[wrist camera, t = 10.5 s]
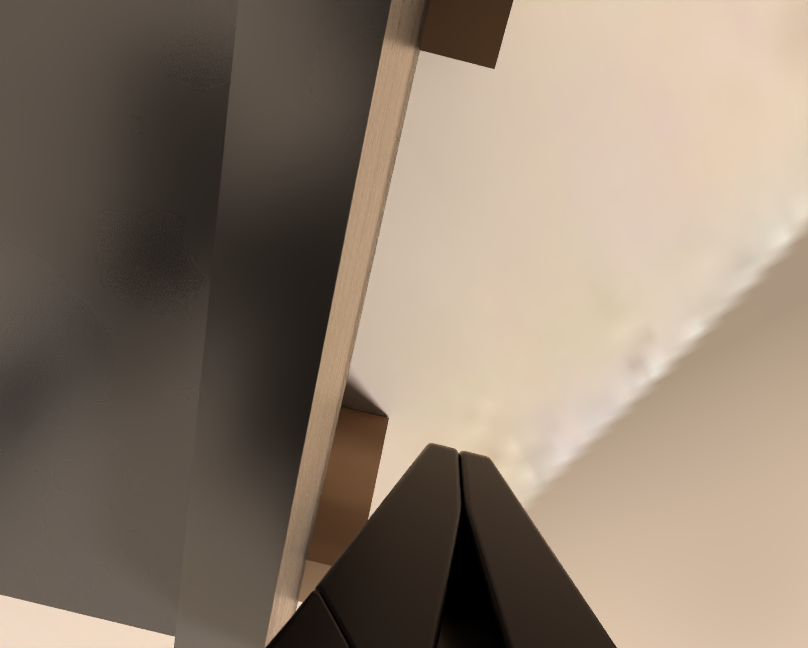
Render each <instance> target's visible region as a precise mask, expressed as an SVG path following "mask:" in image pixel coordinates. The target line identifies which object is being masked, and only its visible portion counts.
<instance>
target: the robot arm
mask: <svg viewBox="0 0 808 648" xmlns="http://www.w3.org/2000/svg"><path fill="white" fill-rule="evenodd" d="M265 648H617V647H616V646H615V644H614V643H613V641H612V640H611V638H610V637H609V635H608V634H607V632H606V631H605V630H604V628H603V626H602V625H601V623H600V622H599V620H598V619H597V617H596V616H595V614H594V613H593V611H592V610H591V609H590V607H589V605H588V604H587V602H586V601H585V599H584V598H583V596H582V595H581V594H580V592H579V590H578V589H577V587H576V586H575V584H574V583H573V581H572V580H571V578H570V577H569V575H568V574H567V572H566V571H565V569H564V568H563V566H562V565H561V564H560V562H559V561H558V559H557V557H556V556H555V554H554V553H553V552H552V550H551V548H550V547H549V546H548V544H547V543H546V541H545V540H544V538H543V537H542V535H541V534H540V532H539V531H538V529H537V528H536V526H535V525H534V523H533V522H532V520H531V519H530V517H529V516H528V514H527V513H526V511H525V510H524V508H523V507H522V505H521V504H520V502H519V501H518V499H517V498H516V496H515V495H514V493H513V492H512V490H511V489H510V487H509V486H508V484H507V483H506V481H505V480H504V478H503V477H502V475H501V474H500V472H499V471H498V469H497V468H496V466H495V465H494V463H493V462H492V460H491V459H490V458H489V457H487V456H483V455H479V454H475V453H471V452H467V451H461V452H460V453H459V454H458V451H457V450H456V449H454V448H450V447H446V446H442V445H438V444H434V443H430V444H428V445H427V446H426V447H425V448H424V449H423V451H422V452H421V453H420V455H419V456H418V457H417V458H416V460H415V461H414V462H413V463H412V465H411V466H410V467H409V469H408V470H407V471H406V472H405V474H404V475H403V476H402V478H401V479H400V480H399V481H398V483H397V484H396V485H395V486H394V488H393V489H392V490H391V492H390V493H389V494H388V495H387V497H386V498H385V499H384V500H383V502H382V503H381V504H380V506H379V507H378V508H377V509H376V511H375V512H374V513H373V514H372V516H371V517H370V518H369V520H368V521H367V522H366V523H365V525H364V526H363V527H362V528H361V530H360V531H359V532H358V534H357V535H356V536H355V537H354V539H353V540H352V541H351V542H350V544H349V545H348V546H347V548H346V549H345V550H344V551H343V553H342V554H341V555H340V557H339V558H338V559H337V560H336V562H335V563H334V564H333V565H332V567H331V568H330V569H329V571H328V572H327V573H326V574H325V576H324V577H323V578H322V579H321V581H320V582H319V583H318V585H317V586H316V588H315V591H312V592H311V593H310V594H309V595H308V597H307V598H306V599H305V600H304V602H303V603H302V604H301V606H300V607H299V608H298V609H297V611H296V612H295V613H294V614H293V615H292V617H291V618H290V619H289V620H288V621H287V623H286V624H285V625H284V626H283V627H282V628H281V630H280V631H279V632H278V633H277V634H276V635H275V637H274V638H273V639H272V640H271V641H270V642H269V644H268V645H267V646H266V647H265Z"/></svg>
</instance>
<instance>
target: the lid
mask: <svg viewBox="0 0 808 648" xmlns="http://www.w3.org/2000/svg"><path fill="white" fill-rule="evenodd" d="M430 1H431V0H0V595H5V596H9V597H13V598H17V599H21V600H25V601H30V602H34V603H38V604H42V605H46V606H50V607H54V608H59V609H63V610H67V611H71V612H75V613H79V614H83V615H88V616H92V617H96V618H100V619H104V620H108V621H113V622H117V623H121V624H125V625H129V626H133V627H137V628H142V629H146V630H150V631H154V632H158V633H162V634H166V635H171V636H175V643H174V648H265V647H266V646H267V645H268V644H269V642H270V641H271V640H272V639H273V638H274V637H275V635H276V634H277V633H278V632H279V631H280V630H281V628H282V627H283V626H284V625H285V624H286V623H287V621H288V620H289V619H290V618H291V617H292V615H293V614H294V613H295V612H296V607H297V603H298V598H299V594H300V589H301V585H302V580H303V576H304V571H305V567H306V562H307V558H308V553H309V549H310V544H311V539H312V535H313V530H314V526H315V521H316V517H317V512H318V508H319V503H320V499H321V494H322V490H323V485H324V481H325V476H326V472H327V467H328V463H329V458H330V453H331V449H332V444H333V440H334V435H335V431H336V426H337V422H338V417H339V413H340V408H341V404H342V399H343V395H344V390H345V386H346V381H347V377H348V372H349V367H350V363H351V358H352V354H353V349H354V345H355V340H356V336H357V331H358V327H359V322H360V318H361V313H362V309H363V304H364V300H365V295H366V291H367V286H368V281H369V277H370V272H371V268H372V263H373V259H374V254H375V250H376V245H377V241H378V236H379V232H380V227H381V223H382V218H383V214H384V209H385V205H386V200H387V195H388V191H389V186H390V182H391V177H392V173H393V168H394V164H395V159H396V155H397V150H398V146H399V141H400V137H401V132H402V128H403V123H404V119H405V114H406V109H407V105H408V100H409V96H410V91H411V87H412V82H413V78H414V73H415V69H416V64H417V60H418V55H419V51H420V46H421V42H422V37H423V33H424V28H425V23H426V19H427V14H428V10H429V5H430Z"/></svg>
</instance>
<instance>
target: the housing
mask: <svg viewBox="0 0 808 648" xmlns="http://www.w3.org/2000/svg"><path fill="white" fill-rule="evenodd" d="M512 3H513V0H431V1H430V5H429V10H428V14H427V19H426V23H425V28H424V33H423V37H422V42H421V46H420V50H422V51H426V52H430V53H434V54H438V55H441V56H445V57H449V58H453V59H457V60H461V61H465V62H469V63H473V64H477V65H481V66H485V67H488V68H492V69H495V65H496V62H497V58H498V54H499V51H500V47H501V43H502V40H503V36H504V32H505V29H506V25H507V21H508V18H509V14H510V10H511V7H512ZM388 420H389V418H386V417H382V416H378V415H374V414H370V413H366V412H362V411H358V410H354V409H350V408H346V407H342V406H341V408H340V413H339V417H338V422H337V426H336V431H335V435H334V440H333V444H332V449H331V453H330V458H329V463H328V467H327V472H326V476H325V481H324V485H323V490H322V494H321V499H320V503H319V508H318V512H317V517H316V521H315V526H314V530H313V535H312V539H311V544H310V549H309V553H308V558H307V562H306V567H305V571H304V576H303V580H302V585H301V589H300V594H299V598H298V601H301V602H304V600H305V599H306V598H307V597H308V595H309V594H310V593H311V592H312V591H315V588H316V586H317V585H318V583H319V582H320V581H321V579H322V578H323V577H324V576H325V574H326V573H327V572H328V571H329V569H330V568H331V567H332V565H333V564H334V563H335V562H336V560H337V559H338V558H339V557H340V555H341V554H342V553H343V551H344V550H345V549H346V548H347V546H348V545H349V544H350V542H351V541H352V540H353V539H354V537H355V536H356V535H357V534H358V532H359V531H360V530H361V528H362V527H363V526H364V525H365V523H366V522H367V521H368V517H369V512H370V507H371V502H372V497H373V492H374V488H375V483H376V478H377V473H378V468H379V463H380V459H381V454H382V449H383V444H384V439H385V434H386V429H387V425H388Z"/></svg>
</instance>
